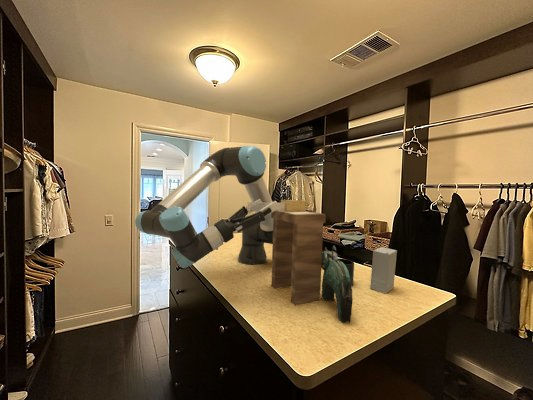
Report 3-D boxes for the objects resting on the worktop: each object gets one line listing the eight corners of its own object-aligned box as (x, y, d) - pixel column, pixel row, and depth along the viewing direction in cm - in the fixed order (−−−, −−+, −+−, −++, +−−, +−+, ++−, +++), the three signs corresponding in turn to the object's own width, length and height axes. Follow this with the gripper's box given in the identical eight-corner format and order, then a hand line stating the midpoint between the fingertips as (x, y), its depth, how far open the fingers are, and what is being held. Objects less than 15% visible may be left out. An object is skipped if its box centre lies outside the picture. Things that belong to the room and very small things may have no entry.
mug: (320, 282, 105) (321, 261, 105) (338, 277, 112) (339, 257, 112) (340, 290, 97) (341, 267, 97) (357, 283, 105) (358, 262, 104)
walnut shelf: (269, 286, 99) (271, 209, 98) (295, 282, 104) (297, 209, 103) (292, 306, 83) (295, 214, 82) (322, 300, 88) (325, 213, 87)
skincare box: (377, 284, 105) (379, 246, 105) (396, 289, 100) (398, 249, 100) (369, 289, 99) (370, 249, 99) (388, 294, 94) (390, 252, 94)
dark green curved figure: (317, 295, 92) (319, 240, 91) (334, 295, 93) (336, 241, 92) (336, 324, 72) (339, 254, 72) (358, 323, 73) (361, 255, 72)
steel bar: (246, 210, 92) (246, 199, 92) (298, 210, 101) (299, 200, 101) (251, 211, 88) (251, 200, 87) (305, 211, 96) (305, 200, 96)
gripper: (215, 236, 98) (259, 209, 105) (234, 252, 75) (290, 215, 82) (205, 220, 96) (251, 193, 103) (223, 230, 73) (280, 195, 81)
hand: (268, 203), depth 93 cm, fingers open, 13 cm apart
